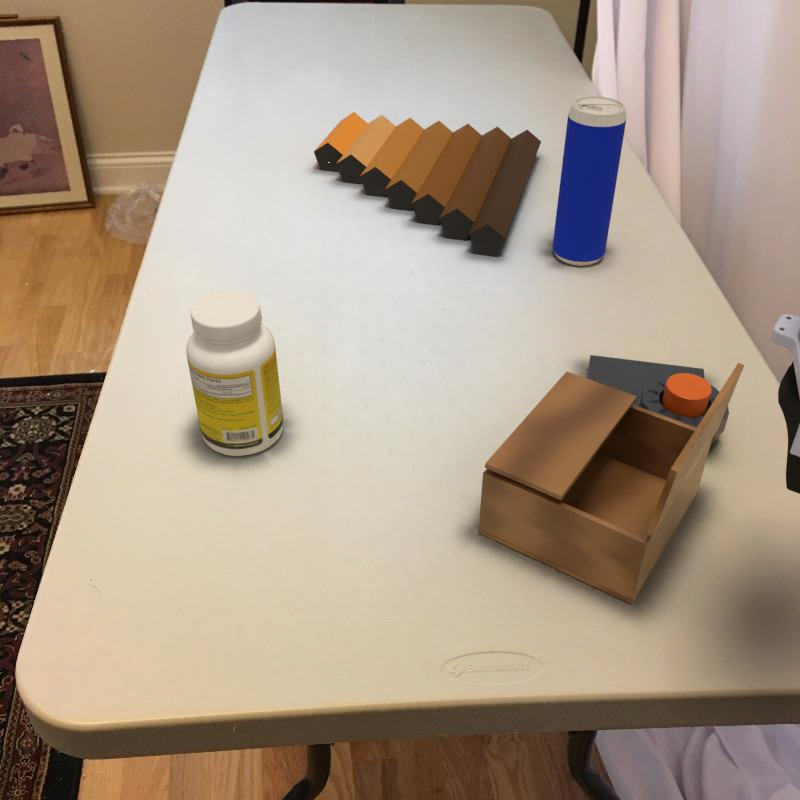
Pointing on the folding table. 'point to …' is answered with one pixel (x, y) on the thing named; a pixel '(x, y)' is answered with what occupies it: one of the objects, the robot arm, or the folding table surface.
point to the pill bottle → (234, 374)
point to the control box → (647, 384)
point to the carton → (588, 485)
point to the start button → (686, 395)
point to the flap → (694, 450)
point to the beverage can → (588, 179)
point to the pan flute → (436, 173)
